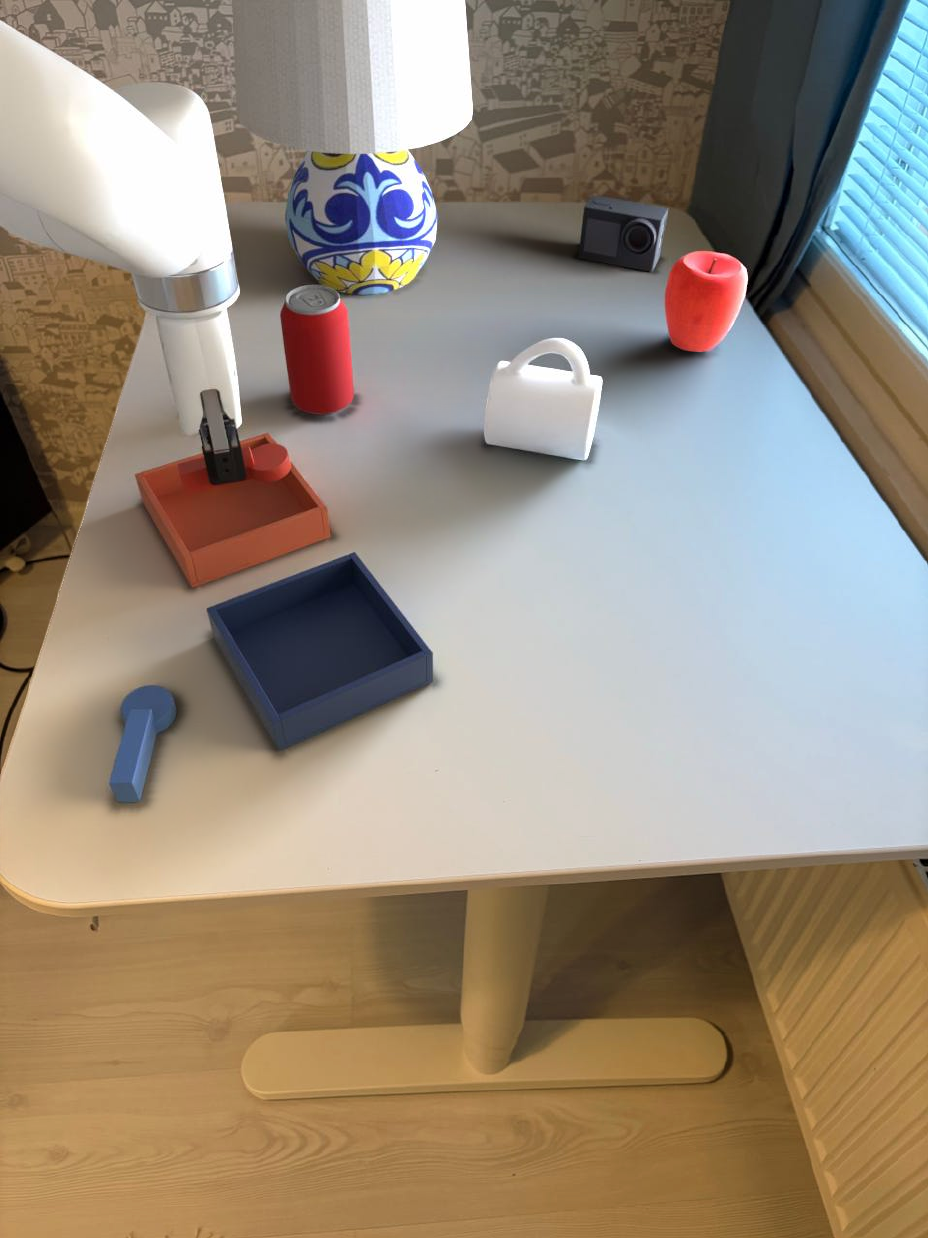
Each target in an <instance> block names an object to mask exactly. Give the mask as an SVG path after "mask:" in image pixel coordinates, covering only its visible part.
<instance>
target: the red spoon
mask: <svg viewBox="0 0 928 1238" xmlns="http://www.w3.org/2000/svg"><path fill="white" fill-rule="evenodd" d="M241 450H242V455H243V460H244V465H245V470H246V475H247V478H246V480H249V479H254V480H256V481H259V482H273V481H277V480H279V479H281V478H283V477H284V476H286V475H287V474H288V473H289V471H290V469H291V462H292V461H291V458H290V455H289V450H287V448H286V447H285V446H283V445H282V444H279V443H277V444H275V443H269V444H263V445H260V446H258V447H256V448H254V449H253V450H251V449H250V447H249V446H248V447H244V448H241ZM178 469H179V475H180V478H181V480H182V482H183V485H184V487H185V490H186V492H187V494H188V495H190V494H194V493H198V492H202V491H206V490H210V489H214V488H218V487H222V486H226V485H229V484H233V483H237V482H233V483H227V484H221V485H211V484H210V481H209V477H208V472H207V468H206V464H205V459H204V457H203V458H199V459H195V460H191V461H187V462H183V463H179V464H178ZM244 481H245V480H244ZM239 482H241V481H239Z"/></svg>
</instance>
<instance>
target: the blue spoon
mask: <svg viewBox="0 0 928 1238" xmlns="http://www.w3.org/2000/svg"><path fill="white" fill-rule="evenodd" d="M120 713H121V716H122V719H123V721H124V724H125V725H124V728H123V732H122V735H121V738H120V743H119V746H118V749H117V753H116V757H115V761H114V764H113V768H112V771H111V774H110V778H109V782H108V785H109V787H110V789H111V791H112V793H113V795H114V797H115V799H116V801H117V803H140V802H141V799H142V795H143V791H144V789H145V783H146V779H147V776H148V771H149V767H150V764H151V760H152V755H153V752H154V748H155V743H156V740H157V739H156V738H157V736H158V734H159V733H163V732H164V731H166V730H167V729H168V728H169V727H171V725H172V724H173V722H174V721H175V719H176V718H177V717H176V716H177V706H176V703H175V700H174V697H173V695H172V693H171V692H170V690H168V689H167V688H166V687H164V686H161V685H156V684H147V685H142V686H139V687H137V688H134V689H133V690H132V691H130V692H129V693H128V694H127V695H126V696H125V697H124V699H123V700H122V703H121V705H120Z"/></svg>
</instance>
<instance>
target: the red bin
mask: <svg viewBox="0 0 928 1238" xmlns="http://www.w3.org/2000/svg"><path fill="white" fill-rule="evenodd" d="M269 443H275V444H278V443H277V441H276V440H275V439H274V438H273V436H272V435H271V434H270V433H269V432H267V431H266V432H264V433H261V434H257V435H254V436H252V437H248V438H246V439H242V440H240V444H241V448H244V447H248V446H249V447H250V449H251V450H253V449H254V448H256V447H258V446H260V445H263V444H269ZM203 457H204V455H203V452H200V453H197V454H194V455H191V456H188V457H184V458H182V459H178V460H174V461H171V462H168V463H166V464H165V463H164V464H162V465H159V466H156V467H153V468H150V469H146V470H142V471H140V472H137V473H135V474H134V477H135V480H136V484H137V486H138V490H139V493H140V497H141V500H142V504H143V505H144V507H145V509H146V510H147V512H148V514H149V515H150V517H151V519H152V521H153V522H154V524H155V526H156V528H157V530H158V531H159V533H160V535H161V537H162V538H163V540H164V542H165V544H166V545H167V547H168V548H169V550H170V552H171V554H172V556H173V557H174V559H175V561H176V563H177V564H178V566H179V567H180V569H181V572H183V574H184V576H185V578H186V580H187V581H188V584H189V585H190V587H191V588H192V589H194V588H197V587H199V586H202V585H205V584H207V583H211V582H213V581H216V580H219V579H221V578H224V577H226V576H229V575H231V574H234V573H237V572H241V571H242V570H245V569H248V568H251V567H254V566H256V565H259V564H261V563H265V562H267V561H270V560H272V559H275V558H278V557H280V556H283V555H287V554H289V553H292V552H294V551H297V550H299V549H302V548H305V547H307V546H311V545H313V544H316V543H318V542H322V541H324V540H326V539H329V538H331V529H330V521H329V512H328V510H329V509H328V506H326V505H325V503H324V502H323V501H322V500H321V498H320V497H319V496H318V494H317V493H316V492H315V491H314V489H313V488H312V487H311V485H310V484H309V482H308V481H307V480H306V479H305V477H304V476H303V475H302V474H301V472H300V471H299V469H297V467H296V466H295V465H294V463H293V462H292V461H291V469H290V471H289V473H288V474H287V475H286V476H284V477H283V478H281V479H279V480H277V481H273V482H259V481H256V480H254V479H249V480H245V481H241V482H237V483H233V484H229V485H226V486H222V487H218V488H214V489H210V490H206V491H202V492H198V493H194V494H190V495H188V494H187V492H186V490H185V487H184V485H183V482H182V480H181V478H180V475H179V469H178V464H179V463H183V462H187V461H191V460H195V459H199V458H203Z"/></svg>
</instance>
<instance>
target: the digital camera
mask: <svg viewBox="0 0 928 1238" xmlns="http://www.w3.org/2000/svg"><path fill="white" fill-rule="evenodd" d="M668 213H669V207H663V206H658V205H653V204H647V203H642V202H636V201H630V200H625V199H618V198H612V197H606V196H600V195H594V194H592V195H591V196H590V198H589V199H588V200H587V202H586V204H585V205H584V208H583V214H582V223H581V230H580V231H581V232H580V240H579V248H578V258H579V259H583V260H588V261H593V262H598V263H604V264H609V265H614V266H619V267H624V268H630V269H636V270H641V271H646V272H654V269H655V267H656V265H657V264H658V263H659V260H660V256H661V250H662V246H663V245H662V244H663V240H664V235H665V229H666V225H667V219H668Z"/></svg>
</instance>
